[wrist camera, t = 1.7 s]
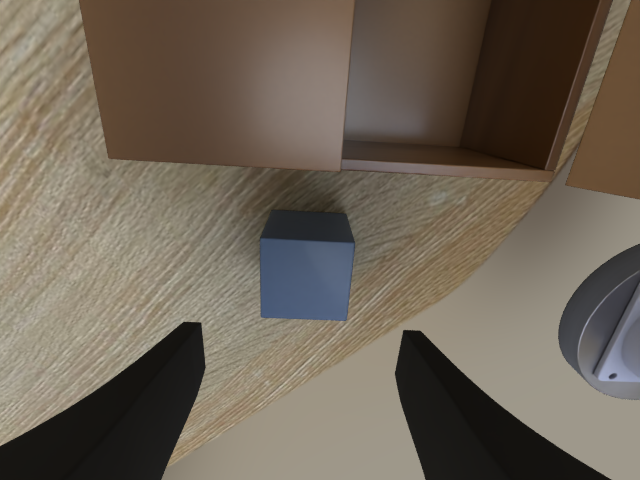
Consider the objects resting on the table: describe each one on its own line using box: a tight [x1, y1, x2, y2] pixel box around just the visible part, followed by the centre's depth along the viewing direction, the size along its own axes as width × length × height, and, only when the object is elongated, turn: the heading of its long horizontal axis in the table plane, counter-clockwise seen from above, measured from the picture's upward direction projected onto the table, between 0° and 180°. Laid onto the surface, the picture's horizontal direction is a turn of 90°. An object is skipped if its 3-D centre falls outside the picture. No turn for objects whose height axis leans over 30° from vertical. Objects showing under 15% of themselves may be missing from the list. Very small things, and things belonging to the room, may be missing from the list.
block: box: [260, 210, 355, 321], centre depth 18 cm, size 4×4×4 cm
